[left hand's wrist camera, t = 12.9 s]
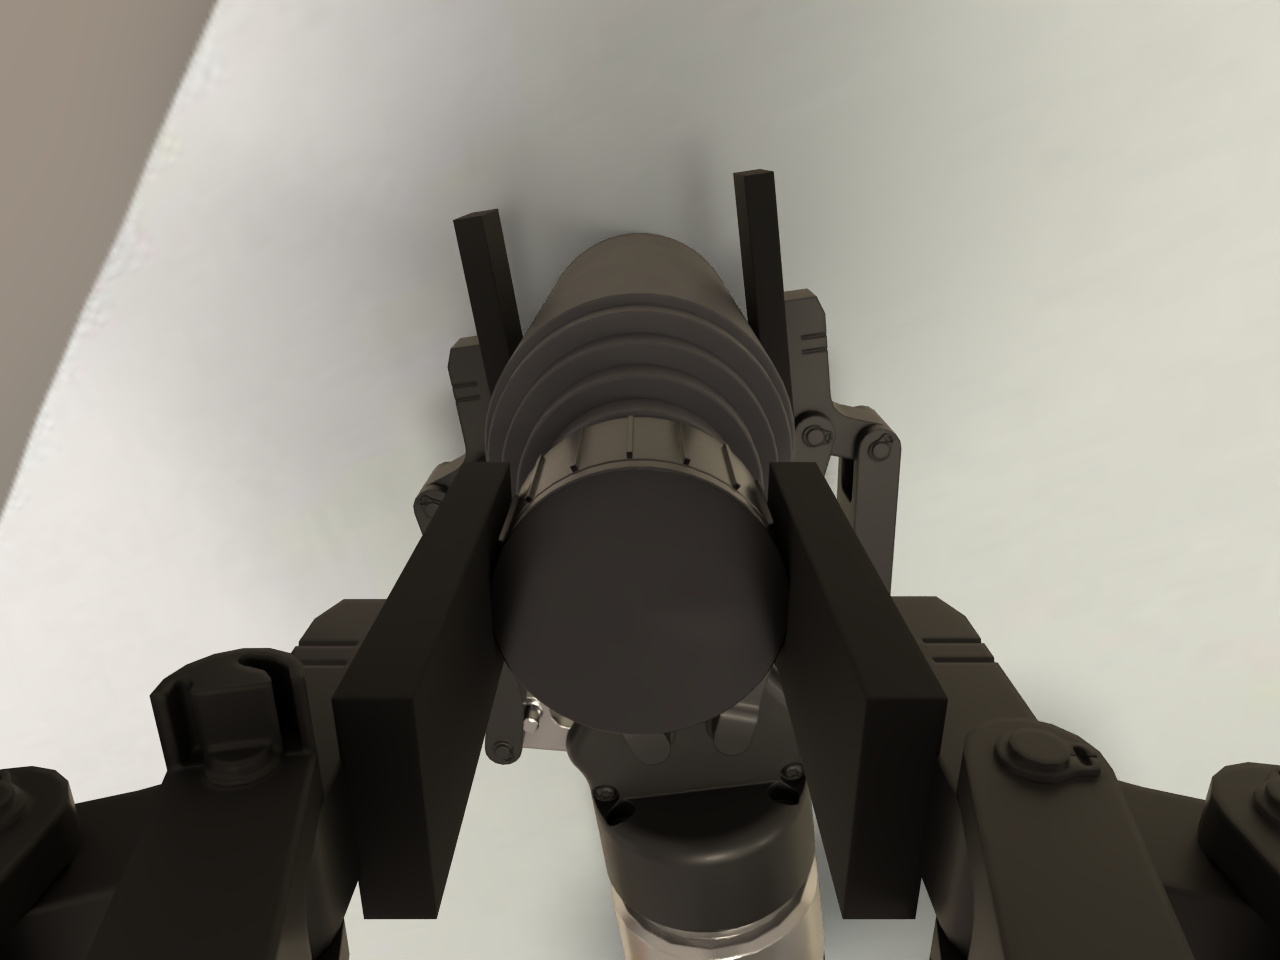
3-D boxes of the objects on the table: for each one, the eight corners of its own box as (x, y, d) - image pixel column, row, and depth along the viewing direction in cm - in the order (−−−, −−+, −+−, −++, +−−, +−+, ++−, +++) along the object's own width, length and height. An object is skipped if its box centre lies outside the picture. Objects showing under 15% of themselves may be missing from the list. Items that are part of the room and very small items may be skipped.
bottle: (536, 240, 30) (371, 387, 12) (731, 226, 30) (878, 354, 11) (556, 425, 33) (444, 794, 14) (736, 414, 32) (865, 772, 14)
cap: (491, 421, 14) (463, 473, 12) (770, 403, 14) (795, 452, 12) (523, 659, 15) (503, 745, 13) (773, 645, 15) (796, 729, 13)
